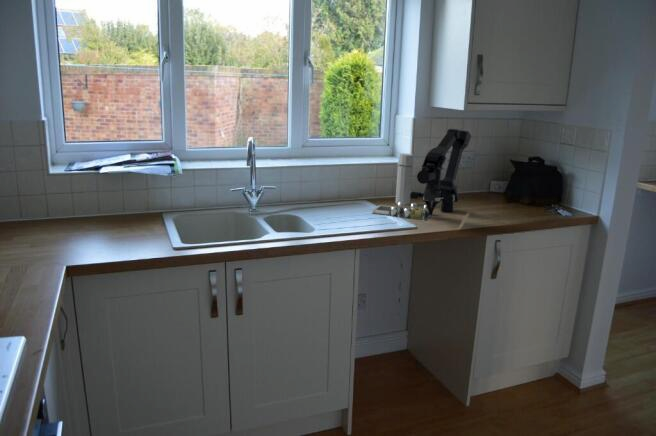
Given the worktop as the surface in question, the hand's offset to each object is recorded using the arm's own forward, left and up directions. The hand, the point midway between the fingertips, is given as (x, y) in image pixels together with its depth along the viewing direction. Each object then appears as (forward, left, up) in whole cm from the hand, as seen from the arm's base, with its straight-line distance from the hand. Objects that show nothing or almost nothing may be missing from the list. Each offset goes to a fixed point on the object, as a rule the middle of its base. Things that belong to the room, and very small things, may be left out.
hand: (430, 215), depth 233 cm
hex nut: (0, -6, -1) cm, 6 cm away
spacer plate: (0, -13, -2) cm, 13 cm away
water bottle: (-22, -18, -2) cm, 28 cm away
